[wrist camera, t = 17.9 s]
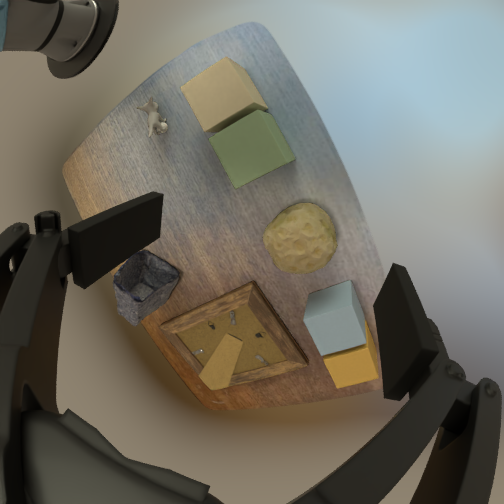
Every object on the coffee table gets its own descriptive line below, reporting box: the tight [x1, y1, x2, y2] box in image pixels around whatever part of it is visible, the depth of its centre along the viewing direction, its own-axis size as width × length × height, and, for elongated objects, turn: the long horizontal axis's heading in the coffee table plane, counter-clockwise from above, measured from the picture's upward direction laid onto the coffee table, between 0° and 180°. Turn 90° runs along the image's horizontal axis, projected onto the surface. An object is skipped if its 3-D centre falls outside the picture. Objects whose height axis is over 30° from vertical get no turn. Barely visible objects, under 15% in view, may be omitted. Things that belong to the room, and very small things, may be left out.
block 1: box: [180, 57, 268, 132], centre depth 32 cm, size 7×7×7 cm
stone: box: [113, 250, 180, 326], centre depth 47 cm, size 12×10×10 cm
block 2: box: [208, 110, 295, 189], centre depth 34 cm, size 7×7×7 cm
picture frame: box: [159, 281, 309, 390], centre depth 51 cm, size 19×2×24 cm
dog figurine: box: [137, 97, 168, 137], centre depth 37 cm, size 3×8×6 cm
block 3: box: [303, 280, 367, 356], centre depth 40 cm, size 7×7×7 cm
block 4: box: [323, 320, 378, 388], centre depth 41 cm, size 7×7×7 cm
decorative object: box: [262, 203, 338, 274], centre depth 37 cm, size 9×10×10 cm
